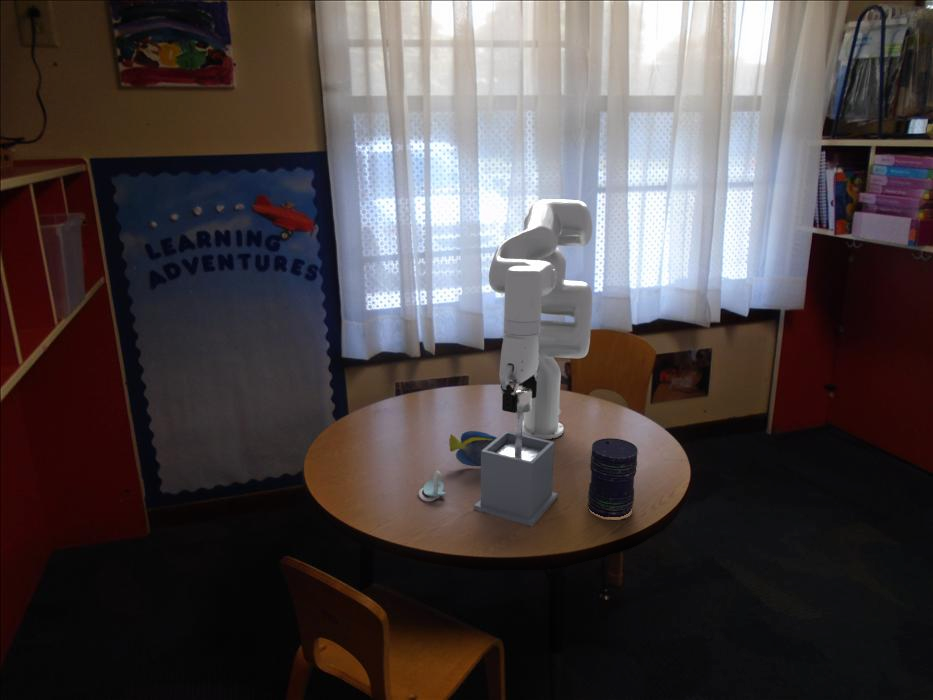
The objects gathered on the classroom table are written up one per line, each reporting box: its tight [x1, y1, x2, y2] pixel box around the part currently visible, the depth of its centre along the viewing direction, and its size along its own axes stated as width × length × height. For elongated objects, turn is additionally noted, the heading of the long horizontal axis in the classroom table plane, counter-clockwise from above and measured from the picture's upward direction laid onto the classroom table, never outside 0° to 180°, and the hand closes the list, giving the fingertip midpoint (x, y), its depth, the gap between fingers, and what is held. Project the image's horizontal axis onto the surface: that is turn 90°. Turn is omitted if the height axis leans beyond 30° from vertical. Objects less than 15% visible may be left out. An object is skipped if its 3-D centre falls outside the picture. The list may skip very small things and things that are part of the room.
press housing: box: [473, 430, 559, 528], centre depth 152 cm, size 14×14×14 cm
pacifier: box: [418, 469, 446, 502], centre depth 157 cm, size 7×6×6 cm
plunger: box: [496, 386, 542, 461], centre depth 148 cm, size 9×9×16 cm
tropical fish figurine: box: [448, 430, 498, 467], centre depth 169 cm, size 16×3×10 cm, turn 86°
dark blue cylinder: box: [587, 437, 639, 517], centre depth 150 cm, size 10×10×15 cm
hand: (519, 403), depth 147 cm, fingers open, 9 cm apart
